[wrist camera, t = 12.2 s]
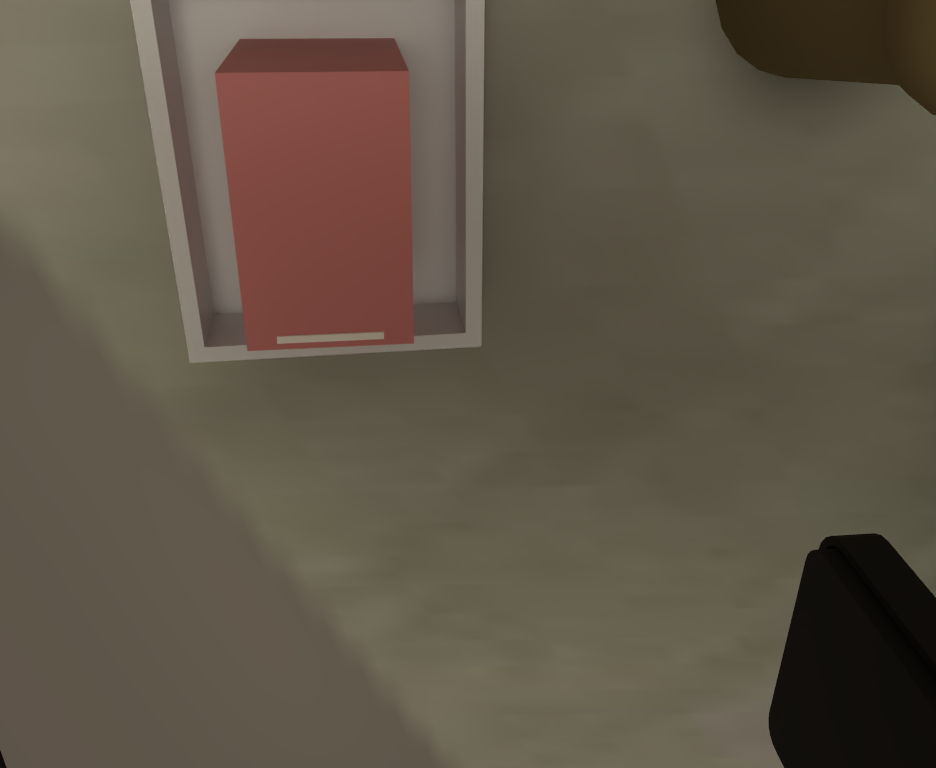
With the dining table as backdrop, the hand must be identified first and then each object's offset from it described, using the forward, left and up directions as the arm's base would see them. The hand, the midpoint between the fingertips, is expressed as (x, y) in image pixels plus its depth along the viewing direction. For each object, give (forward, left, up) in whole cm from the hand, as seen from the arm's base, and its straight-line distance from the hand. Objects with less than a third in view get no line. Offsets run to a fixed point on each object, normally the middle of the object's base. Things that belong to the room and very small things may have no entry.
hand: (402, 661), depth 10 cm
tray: (+1, -1, -21) cm, 21 cm away
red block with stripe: (+1, -1, -20) cm, 20 cm away
